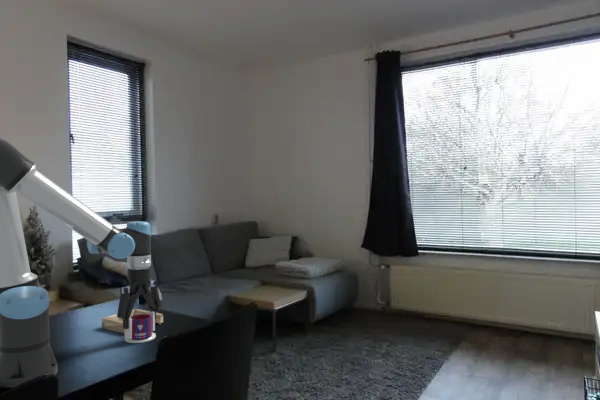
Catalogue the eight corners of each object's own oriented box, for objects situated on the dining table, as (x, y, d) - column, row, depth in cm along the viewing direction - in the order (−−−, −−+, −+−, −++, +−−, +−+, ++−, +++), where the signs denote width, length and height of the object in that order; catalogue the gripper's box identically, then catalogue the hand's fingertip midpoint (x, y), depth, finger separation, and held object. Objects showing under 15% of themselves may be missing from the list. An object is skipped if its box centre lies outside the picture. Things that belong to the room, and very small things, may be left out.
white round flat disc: (138, 345, 145) (138, 343, 145) (117, 339, 150) (117, 338, 150) (162, 336, 154) (162, 334, 154) (142, 331, 159) (142, 329, 159)
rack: (129, 334, 156) (129, 324, 155) (102, 327, 163) (101, 318, 163) (163, 323, 168) (162, 314, 168) (136, 317, 176) (135, 308, 176)
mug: (129, 341, 147) (129, 320, 147) (133, 331, 157) (132, 312, 157) (151, 339, 149) (150, 318, 149) (153, 330, 159) (152, 310, 158)
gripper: (119, 273, 140) (120, 345, 141) (171, 263, 159) (172, 326, 159) (103, 271, 144) (104, 341, 145) (156, 261, 163) (157, 323, 163)
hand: (140, 333), depth 152 cm, fingers open, 9 cm apart
